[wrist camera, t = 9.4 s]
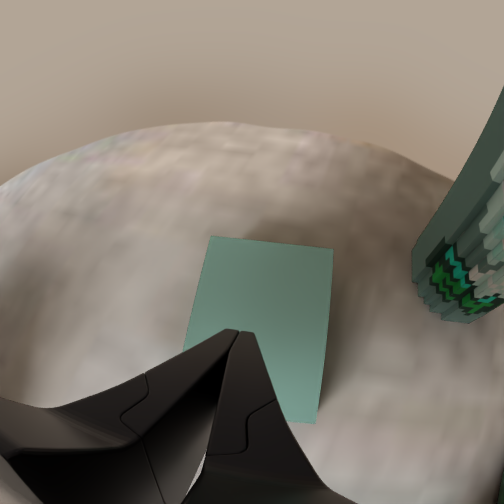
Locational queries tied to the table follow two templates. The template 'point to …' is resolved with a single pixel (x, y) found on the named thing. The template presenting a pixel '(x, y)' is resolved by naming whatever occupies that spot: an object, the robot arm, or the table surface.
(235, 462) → the robot arm
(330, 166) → the table surface
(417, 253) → the can
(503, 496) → the coffee jar
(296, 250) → the mint green block
